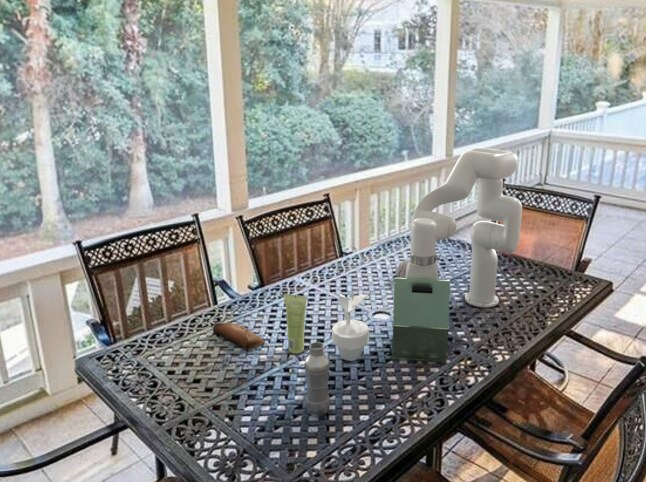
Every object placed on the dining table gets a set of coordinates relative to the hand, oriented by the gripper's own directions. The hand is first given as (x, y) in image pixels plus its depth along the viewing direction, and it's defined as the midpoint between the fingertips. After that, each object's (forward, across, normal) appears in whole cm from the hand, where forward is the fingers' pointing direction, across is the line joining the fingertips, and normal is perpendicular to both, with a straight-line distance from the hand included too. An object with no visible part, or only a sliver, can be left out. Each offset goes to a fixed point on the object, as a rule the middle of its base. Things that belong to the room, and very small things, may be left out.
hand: (420, 311), depth 169 cm
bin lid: (-6, 0, +6) cm, 8 cm away
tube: (+14, +39, +6) cm, 42 cm away
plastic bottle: (+14, +27, +35) cm, 46 cm away
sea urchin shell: (+13, +3, -54) cm, 56 cm away
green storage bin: (+13, 0, +1) cm, 13 cm away
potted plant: (+13, +21, +7) cm, 26 cm away
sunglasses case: (+14, +60, +1) cm, 61 cm away
